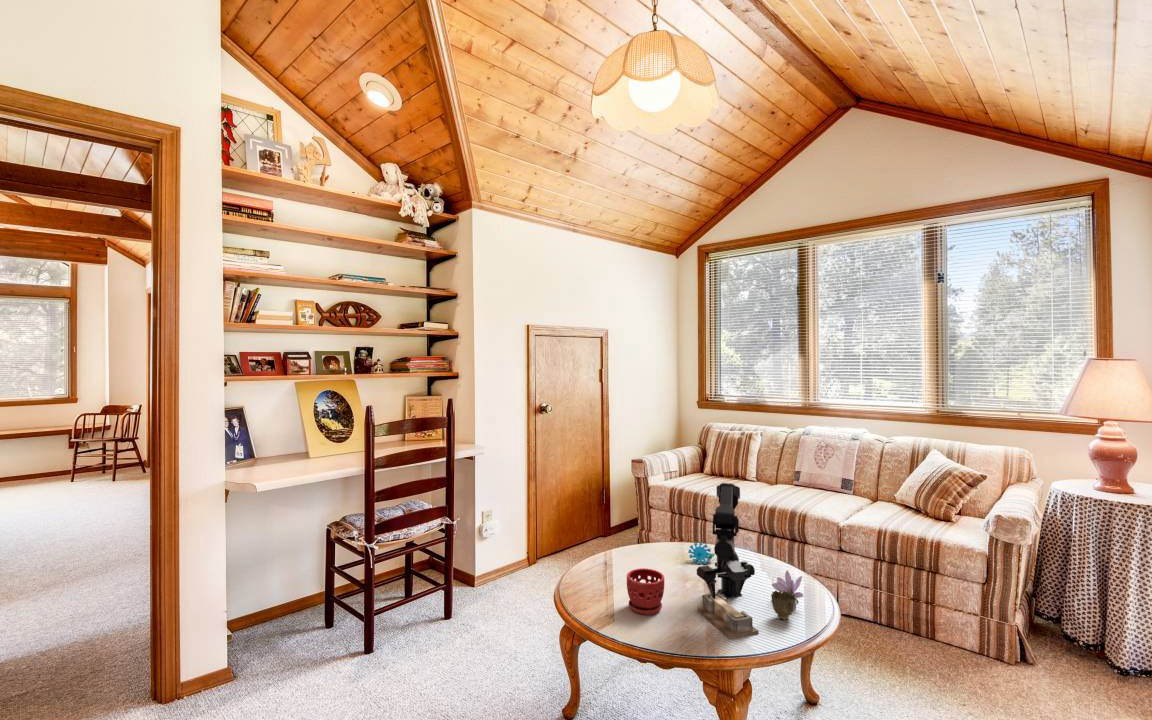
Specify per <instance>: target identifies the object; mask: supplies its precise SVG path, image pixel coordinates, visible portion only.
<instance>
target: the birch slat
mask: <svg viewBox="0 0 1152 720" xmlns="http://www.w3.org/2000/svg"><path fill="white" fill-rule="evenodd" d="M710 599H711V600H712V601H713V611H714V612H715V613H716V614H717V615H719V616H720V617H721V618H722V619H723V620H725V621H726V614H727V613H729V614H730V615H731V616H733V617H734V618H735V619H738V618H744V615H742V614H741V611H738V609H736V608H734V607H733V606H732V605H731V604H729V603H728V601H727V602H725V601H724V600H723V599H721V598H720V597H719V596H715V599H713V598H712V597H710Z"/></svg>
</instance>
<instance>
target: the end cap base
mask: <svg viewBox="0 0 1152 720" xmlns="http://www.w3.org/2000/svg"><path fill="white" fill-rule="evenodd" d="M715 596H719V597H720V598H721V599H723V600H724V601H725V602H727V603H728V600H727V597H725V596H724V595H722V594H721V593H720V592H715ZM710 597H712V596H711V593H708V594H707V593H706V594H703V595H702V605H700V606H697V611H698V612H699V613H700V614H702V615H703V616H704V617H705V618H707V619H708V620H709V621H710V622H711V623H712V624H713V625H714V626H716V627H717V628H718V629H719V630H720V631H721V632H723V633H724V635H726V636H727V637H729V639H735V638H742V637H747V636H753V635H759V634H760V633H759V630H758V629H757V628H756V627H754V626H753V617H752V616H751V615H750V614H748V613H747V612H745V611H744V610H743V611H740V613H741V614H742V615H744V618H738V619H735V618H734V617H733V616H731V615H730V614H729V613H727V614H726V621H725V620H723V619H722V618H721V617H720V616H719V615H717V614H716V613H715V612H714V611H713V601H712V600H711V599H710Z"/></svg>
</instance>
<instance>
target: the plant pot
mask: <svg viewBox="0 0 1152 720" xmlns="http://www.w3.org/2000/svg"><path fill="white" fill-rule="evenodd" d="M649 577H650V579H649ZM642 580H643V581H645V582H641V581H642ZM626 590H627V595H628V598H629V600H628V607H629V608H630V609H631V611H632V612H634V613H637V614H641V615H654V614H657V613H658V612H659V611H660V610H662V608H663V607H662V606H663V603H662V600H663V597H664V592H665V576H664V573H662V572H660V571H658V570H655V569H652V568H651V569H650V568H644V567H643V568H636V569H632V570H630V571H628V572H627V574H626Z"/></svg>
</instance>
